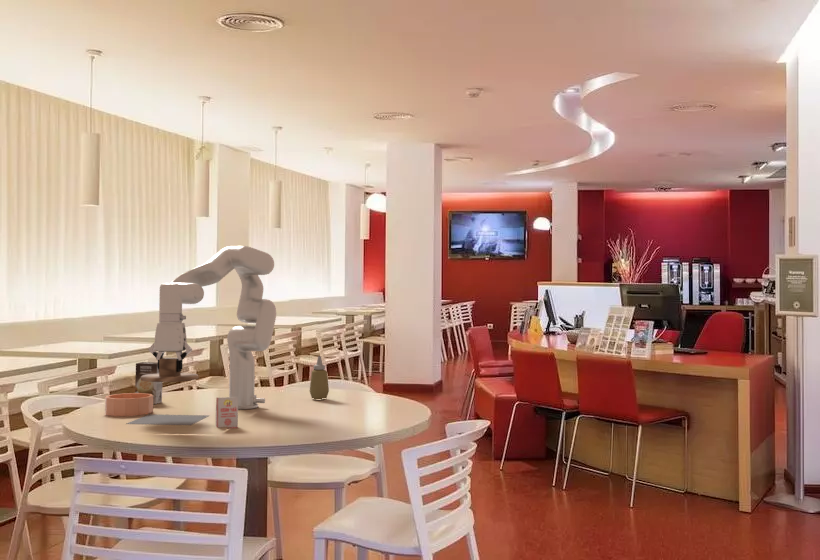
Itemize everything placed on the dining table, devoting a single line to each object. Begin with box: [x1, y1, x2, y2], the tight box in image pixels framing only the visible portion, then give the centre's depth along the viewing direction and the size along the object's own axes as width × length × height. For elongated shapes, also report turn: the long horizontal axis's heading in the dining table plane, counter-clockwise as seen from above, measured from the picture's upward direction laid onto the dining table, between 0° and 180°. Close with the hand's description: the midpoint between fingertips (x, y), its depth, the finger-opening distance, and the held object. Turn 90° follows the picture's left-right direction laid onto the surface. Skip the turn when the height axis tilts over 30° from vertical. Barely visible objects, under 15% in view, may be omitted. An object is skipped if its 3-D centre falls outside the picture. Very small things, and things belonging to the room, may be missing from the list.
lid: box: [141, 357, 199, 383], centre depth 265 cm, size 19×19×7 cm
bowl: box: [104, 392, 154, 417], centre depth 280 cm, size 16×16×6 cm
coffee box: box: [134, 361, 163, 405], centre depth 308 cm, size 9×6×16 cm
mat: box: [126, 413, 210, 426], centre depth 265 cm, size 22×20×1 cm
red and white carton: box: [215, 396, 239, 429], centre depth 254 cm, size 4×7×10 cm, turn 109°
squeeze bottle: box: [309, 356, 330, 399], centre depth 322 cm, size 8×8×18 cm
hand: (170, 370), depth 265 cm, fingers closed on lid, 5 cm apart
